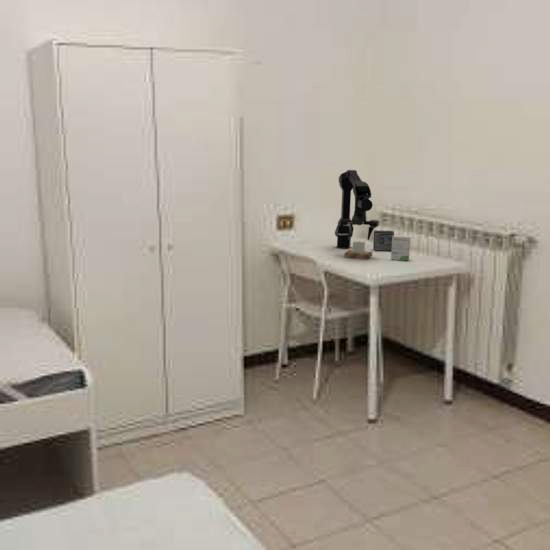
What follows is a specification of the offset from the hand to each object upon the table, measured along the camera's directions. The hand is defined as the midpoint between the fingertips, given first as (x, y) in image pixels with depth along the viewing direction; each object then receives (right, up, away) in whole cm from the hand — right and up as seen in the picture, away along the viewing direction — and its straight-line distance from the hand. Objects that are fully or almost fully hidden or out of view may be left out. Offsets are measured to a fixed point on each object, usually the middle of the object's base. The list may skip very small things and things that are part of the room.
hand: (359, 239), depth 357 cm
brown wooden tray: (0, -9, +2) cm, 9 cm away
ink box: (+20, -10, -4) cm, 23 cm away
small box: (+15, -5, +22) cm, 27 cm away
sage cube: (0, -6, +2) cm, 7 cm away
